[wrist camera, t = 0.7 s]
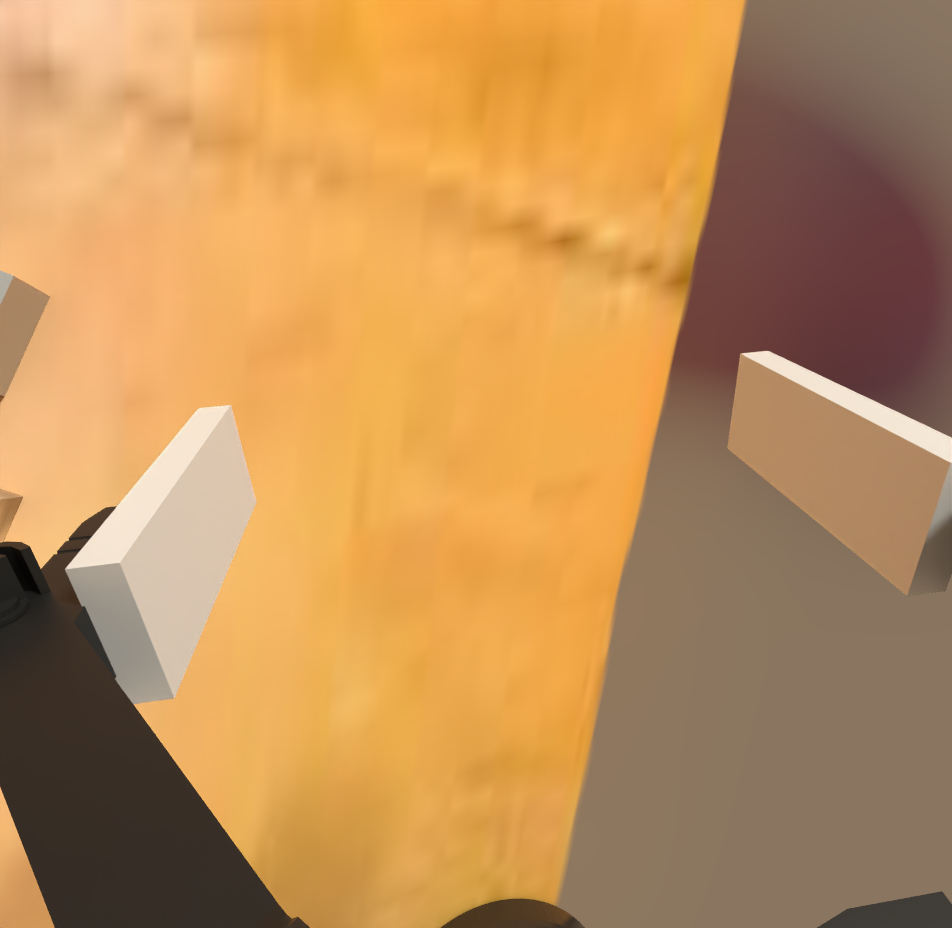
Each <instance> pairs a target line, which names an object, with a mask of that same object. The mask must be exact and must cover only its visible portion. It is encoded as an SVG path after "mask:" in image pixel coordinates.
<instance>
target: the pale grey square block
mask: <svg viewBox="0 0 952 928" xmlns="http://www.w3.org/2000/svg"><path fill="white" fill-rule="evenodd" d="M49 297H50V296H48V295H46V294H45V293H43V292H41V291H39V290H37V289H36V288H34V287H32V286H30V285H29V284H27V283H25V282H23V281H22V280H20V279H18V278H16V277H14V276H12V275H10V274H7V273H5V272H2V271H0V395H1V396H5V395H6V393H7V390H8V388H9V386H10V384H11V381H12V379H13V377H14V375H15V373H16V370H17V368H18V366H19V364H20V362H21V359H22V357H23V355H24V353H25V351H26V348H27V346H28V344H29V342H30V339H31V337H32V335H33V333H34V331H35V328H36V326H37V324H38V322H39V320H40V317H41V315H42V313H43V311H44V309H45V306H46V304H47V302H48V300H49Z"/></svg>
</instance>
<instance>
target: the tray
mask: <svg viewBox="0 0 952 928" xmlns="http://www.w3.org/2000/svg"><path fill="white" fill-rule="evenodd" d="M21 500H22V496H19V495H16V494H13V493H10V492H7V491H4V490H1V489H0V543H1V542H3V540H4V538H5V536H6V534H7V531H8V529H9V527H10V525H11V522H12V520H13V518H14V516H15V513H16V511H17V509H18V506H19V504H20V502H21Z"/></svg>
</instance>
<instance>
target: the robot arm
mask: <svg viewBox="0 0 952 928" xmlns="http://www.w3.org/2000/svg"><path fill="white" fill-rule="evenodd" d="M728 449H729V450H730V451H731V452H733V453H734V454H735V455H736V456H737V457H739V458H740V459H741V460H742V461H744V462H745V463H746V464H747V465H748V466H750V467H751V468H752V469H754V471H756V472H757V473H758V474H760V475H761V476H762V477H763V478H764V479H766V480H767V481H768V482H769V483H770V484H771V485H773V486H774V487H775V488H776V489H778V490H779V491H780V492H781V493H782V494H784V495H785V496H786V497H787V498H789V499H790V500H791V501H792V502H793V503H795V504H796V505H797V506H798V507H799V508H801V509H802V510H803V511H804V512H805V513H807V514H808V515H809V516H810V517H812V518H813V519H814V520H815V521H816V522H818V523H819V524H820V525H821V526H823V527H824V528H825V529H826V530H827V531H829V532H830V533H831V534H832V535H833V536H835V537H836V538H837V539H838V540H840V541H841V542H842V543H843V544H844V545H846V546H847V547H848V548H849V549H851V550H852V551H853V552H854V553H855V554H857V555H858V556H859V557H860V558H861V559H863V560H864V561H865V562H866V563H867V564H869V565H870V566H871V567H872V568H874V569H875V570H876V571H877V572H878V573H880V574H881V575H882V576H883V577H885V578H886V579H887V580H888V581H890V582H891V583H892V584H893V585H894V586H895V587H897V588H898V589H899V590H900V591H902V592H903V593H904V594H905V595H907V596H911V595H918V594H925V593H933V592H940V591H945V590H946V588H947V585H948V582H949V580H950V577H951V574H952V438H951V437H949V436H947V435H945V434H942V433H940V432H938V431H936V430H934V429H932V428H930V427H928V426H926V425H923V424H921V423H919V422H917V421H915V420H913V419H911V418H909V417H906V416H904V415H902V414H900V413H898V412H896V411H894V410H892V409H889V408H888V407H885V406H883V405H881V404H879V403H877V402H875V401H873V400H871V399H869V398H866V397H864V396H862V395H860V394H858V393H856V392H854V391H852V390H849V389H847V388H845V387H843V386H841V385H839V384H836V383H835V382H833V381H830V380H828V379H826V378H824V377H822V376H820V375H818V374H816V373H813V372H811V371H809V370H807V369H805V368H803V367H801V366H799V365H797V364H794V363H792V362H790V361H788V360H786V359H784V358H782V357H780V356H778V355H776V354H773V353H771V352H769V351H763V352H753V353H743V354H740V361H739V369H738V375H737V383H736V391H735V397H734V404H733V412H732V419H731V426H730V433H729V441H728ZM255 504H256V499H255V495H254V491H253V487H252V484H251V480H250V476H249V472H248V468H247V465H246V461H245V457H244V453H243V449H242V446H241V442H240V438H239V434H238V430H237V427H236V423H235V419H234V415H233V411H232V408H231V405H226V406H216V407H206V408H199V409H198V410H197V411H196V412H195V413H194V415H193V416H192V417H191V418H190V419H189V421H188V422H187V423H186V424H185V425H184V427H183V428H182V429H181V430H180V431H179V433H178V434H177V435H176V436H175V437H174V439H173V440H172V441H171V442H170V443H169V445H168V446H167V447H166V448H165V449H164V451H163V452H162V453H161V454H160V455H159V457H158V458H157V459H156V460H155V461H154V463H153V464H152V465H151V466H150V467H149V469H148V470H147V471H146V472H145V474H144V475H143V476H142V477H141V478H140V480H139V481H138V482H137V483H136V484H135V486H134V487H133V488H132V489H131V490H130V492H129V493H128V494H127V495H126V496H125V498H124V499H123V500H122V501H121V502H120V504H119V505H118V506H116V507H107V508H104V509H103V510H101V511H100V512H98V513H97V514H95V515H94V516H92V517H90V518H89V519H87V520H86V521H84V522H83V523H82V524H81V525H80V526H79V527H78V528H77V529H76V531H75V532H74V533H73V534H72V535H71V536H70V537H69V541H66V542H65V543H64V544H63V545H62V546H61V547H60V549H59V550H58V551H57V554H54V555H53V556H52V558H51V559H50V560H49V561H48V562H47V563H46V564H45V565H44V566H43V568H42V569H40V567H39V565H38V563H37V560H36V558H35V556H34V554H33V552H32V550H31V548H30V546H28V545H26V544H24V543H22V542H1V543H0V787H1V790H2V792H3V795H4V798H5V800H6V803H7V805H8V808H9V810H10V813H11V816H12V818H13V821H14V823H15V826H16V829H17V831H18V834H19V836H20V839H21V841H22V844H23V847H24V849H25V852H26V854H27V857H28V860H29V862H30V865H31V867H32V870H33V872H34V875H35V878H36V880H37V883H38V885H39V888H40V890H41V893H42V896H43V898H44V901H45V903H46V906H47V909H48V911H49V914H50V916H51V919H52V921H53V924H54V927H55V928H309V927H308V925H306V924H305V923H304V922H303V921H302V920H301V919H300V918H299V917H296V918H293V919H291V918H290V917H289V916H288V915H287V914H286V913H285V912H284V911H283V909H282V908H281V907H280V906H279V904H278V903H277V902H276V900H275V899H274V897H273V896H272V895H271V893H270V892H269V891H268V889H267V888H266V886H265V885H264V884H263V882H262V881H261V880H260V878H259V877H258V875H257V874H256V873H255V871H254V870H253V869H252V867H251V866H250V864H249V863H248V862H247V860H246V859H245V858H244V856H243V855H242V853H241V852H240V851H239V849H238V848H237V847H236V845H235V844H234V842H233V841H232V840H231V838H230V837H229V836H228V834H227V833H226V831H225V830H224V829H223V827H222V826H221V825H220V823H219V822H218V820H217V819H216V818H215V816H214V815H213V813H212V812H211V811H210V809H209V808H208V807H207V805H206V804H205V802H204V801H203V800H202V798H201V797H200V796H199V794H198V793H197V791H196V790H195V789H194V787H193V786H192V785H191V783H190V782H189V780H188V779H187V778H186V776H185V775H184V774H183V772H182V771H181V769H180V768H179V767H178V765H177V764H176V763H175V761H174V760H173V758H172V757H171V756H170V754H169V753H168V752H167V750H166V749H165V747H164V746H163V745H162V743H161V742H160V741H159V739H158V738H157V736H156V735H155V734H154V732H153V731H152V729H151V728H150V727H149V725H148V724H147V723H146V721H145V720H144V718H143V717H142V716H141V714H140V713H139V712H138V710H137V709H136V707H135V706H134V705H133V704H137V703H144V702H151V701H159V700H166V699H173V698H175V696H176V693H177V691H178V688H179V686H180V684H181V681H182V679H183V676H184V674H185V672H186V669H187V667H188V664H189V662H190V660H191V657H192V655H193V653H194V650H195V648H196V645H197V643H198V641H199V638H200V636H201V633H202V631H203V629H204V626H205V624H206V621H207V619H208V617H209V614H210V612H211V609H212V607H213V605H214V602H215V600H216V598H217V595H218V593H219V590H220V588H221V586H222V583H223V581H224V578H225V576H226V574H227V571H228V569H229V566H230V564H231V562H232V559H233V557H234V554H235V552H236V550H237V547H238V545H239V543H240V540H241V538H242V535H243V533H244V531H245V528H246V526H247V523H248V521H249V519H250V516H251V514H252V511H253V509H254V507H255ZM442 928H585V927H584V926H583V925H582V924H581V923H580V922H579V921H577V919H575V918H574V917H573V916H572V915H570V914H569V913H567V912H566V911H564V910H562V909H560V908H558V907H556V906H554V905H551V904H549V903H545V902H542V901H537V900H530V899H507V900H500V901H495V902H491V903H488V904H484V905H481V906H479V907H476V908H474V909H472V910H469V911H467V912H465V913H463V914H461V915H460V916H458V917H456V918H455V919H453V920H452V921H450V922H449V923H447V924H446V925H444V926H443V927H442ZM818 928H952V904H951V902H950V901H949V900H948V899H947V897H946V896H945V895H944V893H943V892H937V893H931V894H926V895H921V896H915V897H910V898H904V899H899V900H894V901H888V902H883V903H878V904H872V905H866V906H861V907H855V908H850V909H847V910H845V911H843V912H842V913H840V914H839V915H837V916H835V917H834V918H832V919H830V920H829V921H827V922H826V923H824V924H822V925H821V926H819V927H818Z"/></svg>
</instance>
